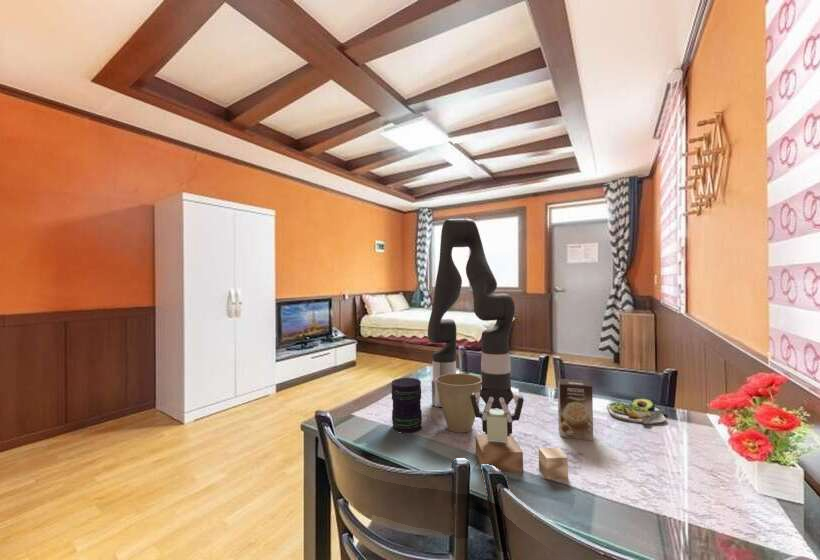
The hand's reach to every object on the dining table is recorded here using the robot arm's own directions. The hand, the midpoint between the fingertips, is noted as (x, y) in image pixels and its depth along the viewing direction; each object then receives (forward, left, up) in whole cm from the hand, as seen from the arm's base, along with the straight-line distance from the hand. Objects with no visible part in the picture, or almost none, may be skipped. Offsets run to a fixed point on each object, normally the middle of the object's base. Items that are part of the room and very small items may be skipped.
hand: (497, 434), depth 89 cm
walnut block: (0, 0, -7) cm, 7 cm away
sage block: (0, 0, -1) cm, 1 cm away
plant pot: (-12, +19, -7) cm, 24 cm away
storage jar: (-29, +16, -7) cm, 34 cm away
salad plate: (+47, +43, -8) cm, 64 cm away
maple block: (+13, -3, -7) cm, 15 cm away
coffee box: (+23, +21, -7) cm, 32 cm away
